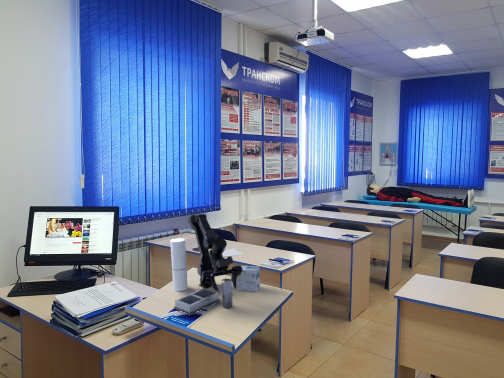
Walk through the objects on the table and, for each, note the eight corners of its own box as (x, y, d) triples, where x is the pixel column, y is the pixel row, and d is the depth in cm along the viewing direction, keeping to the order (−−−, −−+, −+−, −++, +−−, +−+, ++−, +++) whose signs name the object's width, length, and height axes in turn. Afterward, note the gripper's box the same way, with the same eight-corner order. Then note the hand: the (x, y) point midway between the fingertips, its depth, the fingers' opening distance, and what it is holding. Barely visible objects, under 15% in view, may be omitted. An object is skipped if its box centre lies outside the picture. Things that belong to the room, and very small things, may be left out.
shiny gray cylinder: (227, 303, 169) (226, 277, 167) (234, 305, 166) (233, 279, 165) (220, 306, 166) (219, 280, 164) (227, 309, 163) (226, 282, 161)
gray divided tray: (204, 295, 179) (203, 287, 178) (220, 301, 171) (220, 292, 171) (174, 309, 165) (173, 300, 164) (190, 315, 158) (189, 306, 157)
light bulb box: (260, 286, 187) (259, 266, 186) (257, 292, 181) (256, 270, 180) (240, 285, 190) (239, 264, 189) (236, 290, 184) (235, 269, 182)
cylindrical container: (189, 285, 192) (186, 238, 189) (185, 291, 185) (182, 242, 182) (175, 285, 192) (172, 238, 189) (171, 291, 185) (168, 242, 182)
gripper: (201, 254, 164) (210, 286, 155) (240, 247, 172) (251, 278, 163) (197, 266, 172) (205, 297, 163) (234, 259, 180) (244, 289, 171)
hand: (227, 290), depth 165 cm, fingers open, 8 cm apart
